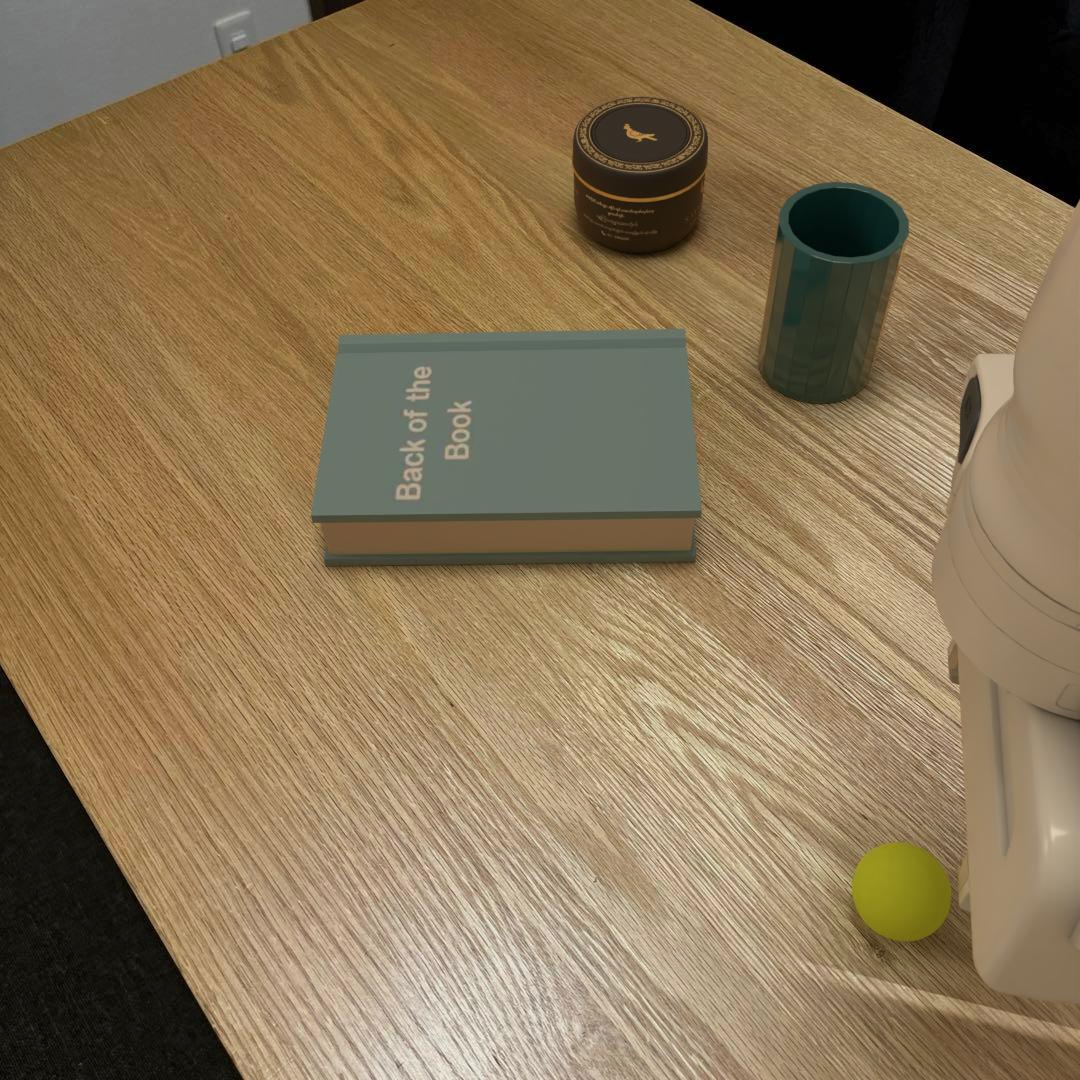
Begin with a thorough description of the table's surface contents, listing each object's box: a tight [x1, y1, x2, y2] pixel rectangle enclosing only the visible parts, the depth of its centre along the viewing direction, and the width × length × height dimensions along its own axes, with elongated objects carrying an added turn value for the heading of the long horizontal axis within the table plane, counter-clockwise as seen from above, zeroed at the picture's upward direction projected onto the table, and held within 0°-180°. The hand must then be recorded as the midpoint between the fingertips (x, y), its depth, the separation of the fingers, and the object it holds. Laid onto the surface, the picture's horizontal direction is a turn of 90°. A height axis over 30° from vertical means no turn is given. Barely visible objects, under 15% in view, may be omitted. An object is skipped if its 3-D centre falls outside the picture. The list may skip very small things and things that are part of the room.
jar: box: [571, 96, 709, 255], centre depth 89 cm, size 10×10×8 cm
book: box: [310, 328, 703, 567], centre depth 76 cm, size 23×16×5 cm
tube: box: [757, 181, 910, 405], centre depth 78 cm, size 8×8×12 cm
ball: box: [851, 841, 952, 942], centre depth 57 cm, size 5×5×5 cm
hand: (974, 776), depth 46 cm, fingers open, 8 cm apart
